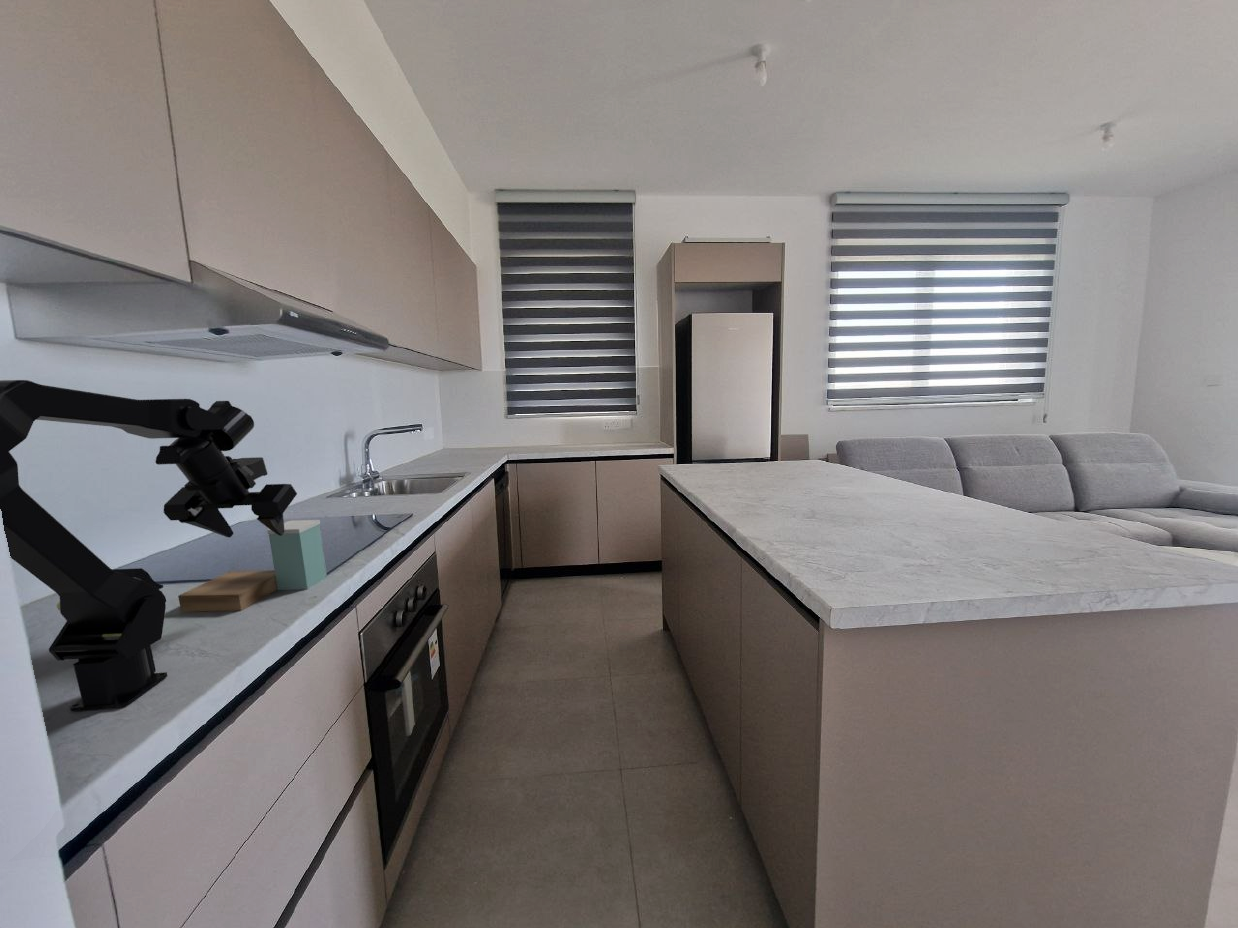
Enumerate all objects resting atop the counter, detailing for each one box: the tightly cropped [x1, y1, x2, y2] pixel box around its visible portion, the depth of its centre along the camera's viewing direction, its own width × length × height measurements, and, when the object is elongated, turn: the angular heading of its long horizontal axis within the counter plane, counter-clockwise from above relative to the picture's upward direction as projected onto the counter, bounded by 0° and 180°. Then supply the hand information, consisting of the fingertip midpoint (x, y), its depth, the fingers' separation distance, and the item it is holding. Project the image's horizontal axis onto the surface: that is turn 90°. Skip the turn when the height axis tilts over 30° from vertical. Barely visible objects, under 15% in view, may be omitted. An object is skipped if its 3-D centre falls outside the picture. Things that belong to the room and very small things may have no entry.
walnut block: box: [177, 569, 278, 612], centre depth 88 cm, size 11×11×3 cm
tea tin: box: [266, 519, 328, 591], centre depth 94 cm, size 6×6×12 cm
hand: (256, 534), depth 85 cm, fingers open, 9 cm apart
